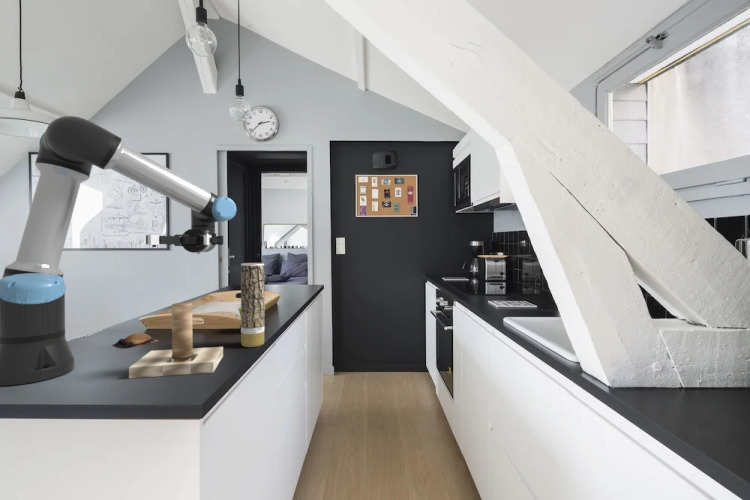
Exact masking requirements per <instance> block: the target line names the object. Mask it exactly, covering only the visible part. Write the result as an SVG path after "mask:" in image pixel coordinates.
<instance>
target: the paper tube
mask: <svg viewBox="0 0 750 500" xmlns="http://www.w3.org/2000/svg"><path fill="white" fill-rule="evenodd" d="M264 306H265V263H264V262H243V263H241V264H240V307H241V316H240V333H241V335H240V344H241V346H242V347H244V348H255V347H256V348H257V347H260V346H263V345H264V343H265V308H264Z"/></svg>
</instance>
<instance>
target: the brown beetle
mask: <svg viewBox="0 0 750 500" xmlns="http://www.w3.org/2000/svg"><path fill="white" fill-rule="evenodd" d="M156 342H159V340H158V339H155V338H153V337H152V336H150V335H149V334H147V333H143V332H136V333H132V334H130V335H128V336H126V337H125V338H120V339H118V341H117V342H115V343H114V344H112V347H115V348H119V349H126V350H127V349H132V348H136V347H141V346H145V345H149V344H152V343H153V344H154V343H156Z"/></svg>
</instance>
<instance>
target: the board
mask: <svg viewBox="0 0 750 500" xmlns="http://www.w3.org/2000/svg"><path fill="white" fill-rule="evenodd" d="M223 357H224V346H215V347H211V346H210V347H197V348H195V347H194V348H193V356H192V357H191V361H186V362H174V359H172V349H162V350H161V349H160V350H157V349H156V350H150V351H149V352H148V353H145V355H144V356H142V357H141V358H139V359H138V360H136V362H134V363H133V364H131V365H130V366H129V367H128V379H138V378H139V379H140V378H154V377H169V376H183V375H185V376H186V375H195V374H209V373H210V374H211V373H214V372H215V371H216V369H217V367H218V366H219V363H220V362H221V360H222V359H223Z"/></svg>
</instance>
